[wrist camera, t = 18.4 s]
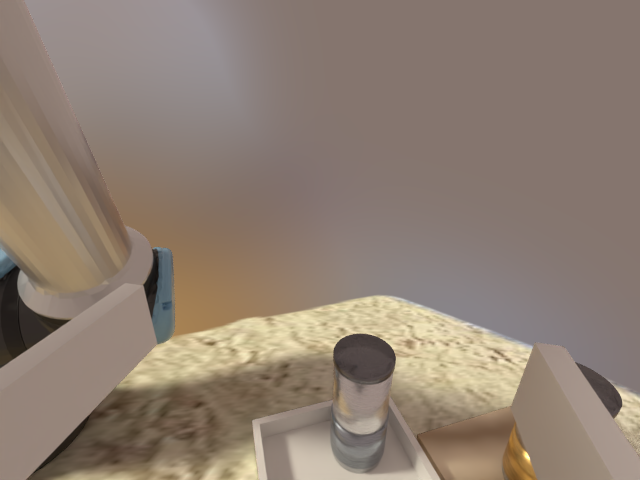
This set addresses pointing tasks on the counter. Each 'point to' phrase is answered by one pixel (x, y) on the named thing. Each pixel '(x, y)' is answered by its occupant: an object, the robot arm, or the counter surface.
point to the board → (470, 446)
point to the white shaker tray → (315, 449)
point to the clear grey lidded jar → (360, 401)
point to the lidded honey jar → (515, 456)
